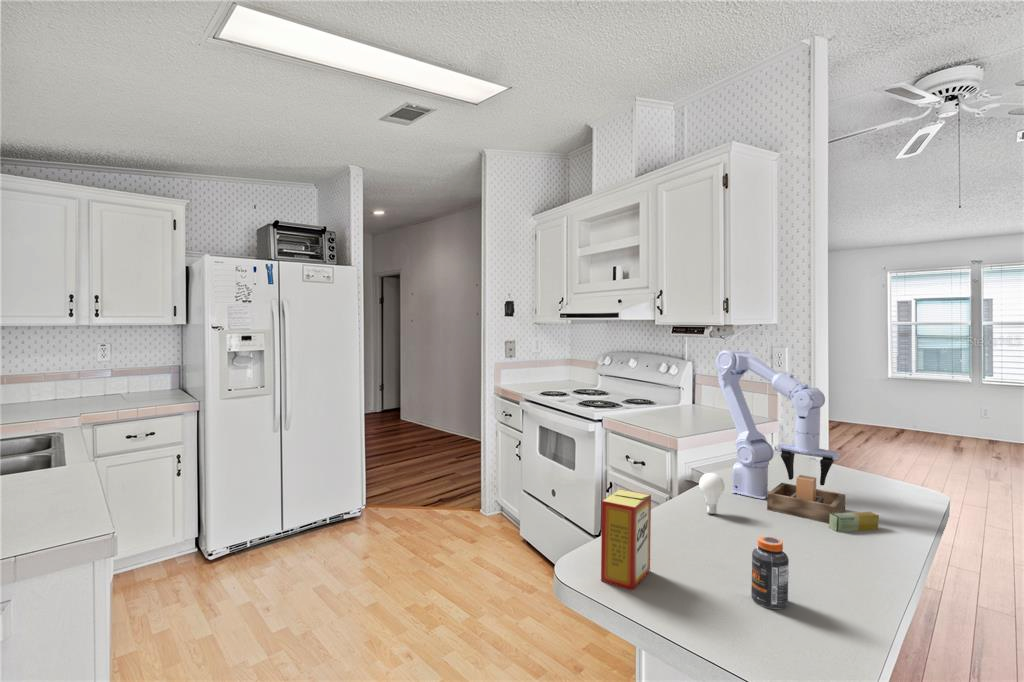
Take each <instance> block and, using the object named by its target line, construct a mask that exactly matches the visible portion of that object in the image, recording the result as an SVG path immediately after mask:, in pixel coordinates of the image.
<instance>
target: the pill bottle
mask: <svg viewBox="0 0 1024 682" xmlns="http://www.w3.org/2000/svg"><path fill="white" fill-rule="evenodd" d="M783 543H784V542H783V541H782V540H781V539H780V538H778V537H774V536H769V535H762V536H759V537H758V540H757V547H755V548H753V550H752V551H751V553H752V554H751V555H752V556H751V592H750V593H751V599H752V601H754V603H756V604H757V605H759V606H761V607H764V608H767V609H772V610H782V609H785V608H786V607H788V603H789V601H788V600H789V574H790V573H789V562H790V561H789V556H788V554H787V553H785V552H784V551H783V550H784V544H783Z"/></svg>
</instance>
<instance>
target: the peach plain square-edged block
mask: <svg viewBox="0 0 1024 682" xmlns="http://www.w3.org/2000/svg"><path fill="white" fill-rule="evenodd" d="M795 485H796V498H799V499H804V500H809V501H814V502H816V489H817V477H814V476H809V475H802V474H799V475H798V476H797V477H796V482H795Z"/></svg>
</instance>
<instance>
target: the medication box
mask: <svg viewBox="0 0 1024 682" xmlns="http://www.w3.org/2000/svg"><path fill="white" fill-rule="evenodd" d="M879 518H880V517H879V514H877V513H875V512H873V511H856V512H855V511H853V512H844V513H830V519H829V523H828V529H829V528H830V530H831V529H832V530H831V531H833V532H836V533H838V532H837V531H840V532H851V531H852V532H855V531H868V530H869V531H872V530H874V531H875V530H879V521H880V520H879Z"/></svg>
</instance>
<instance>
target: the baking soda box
mask: <svg viewBox="0 0 1024 682" xmlns="http://www.w3.org/2000/svg"><path fill="white" fill-rule="evenodd" d="M651 508H652V494H648V493H645V492H644V493H643V492H638V491H632V490H628V489H622V488H620V489H618V490H617V491H616V492H614V493H612V494H611V495H609V496H608V497H606V498H604V499H603V500H602V501H601V549H600V551H601V553H600V554H601V555H600V556H601V558H600V559H601V561H600V562H601V564H600V567H601V568H600V570H601V571H600V581H601V582H603V581H605V582H604V583H606V582H608V583H607V584H609V583H611V584H610V585H613V584H614V586H616V585H617V587H620V588H623V589H627V590H630V591H634V590H635V589H637V587H638V586H639V585H640V584H641V582H642V581H643V580H644V579H645V578H644V577H646V576H647V575H648V574H649V573H650V572H649V570H650V571H651V530H652V529H651V525H652V524H651V522H652V521H651V520H652V519H651V518H652V517H651V516H652V515H651V514H652V513H651V511H652V509H651ZM648 572H649V573H648ZM647 573H648V574H647ZM646 574H647V575H646ZM645 575H646V576H645ZM643 578H644V579H643ZM642 579H643V580H642ZM641 580H642V581H641ZM640 581H641V582H640ZM637 585H638V586H637Z"/></svg>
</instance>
